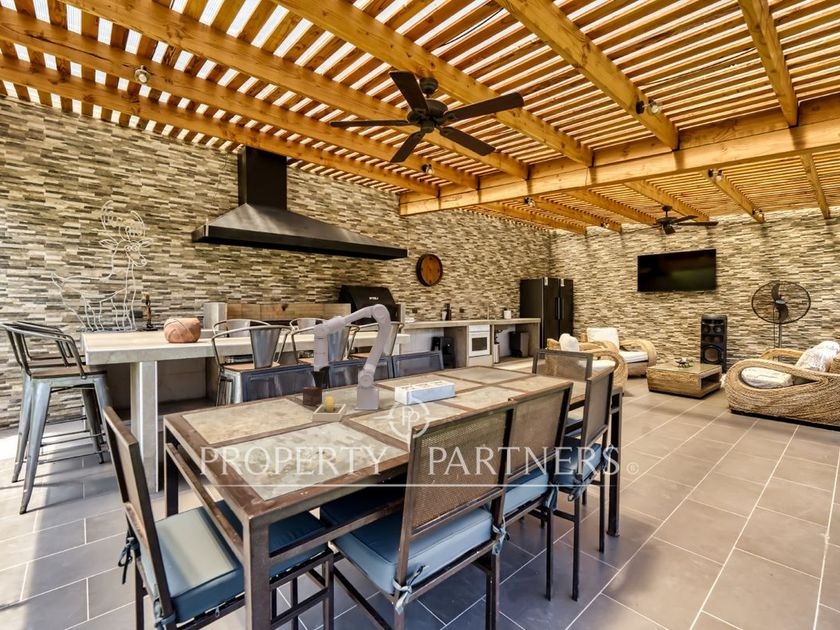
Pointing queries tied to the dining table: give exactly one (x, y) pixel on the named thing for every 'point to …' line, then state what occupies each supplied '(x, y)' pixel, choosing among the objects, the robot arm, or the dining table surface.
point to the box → (312, 395)
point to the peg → (330, 404)
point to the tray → (329, 414)
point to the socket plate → (323, 410)
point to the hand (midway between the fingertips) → (321, 385)
